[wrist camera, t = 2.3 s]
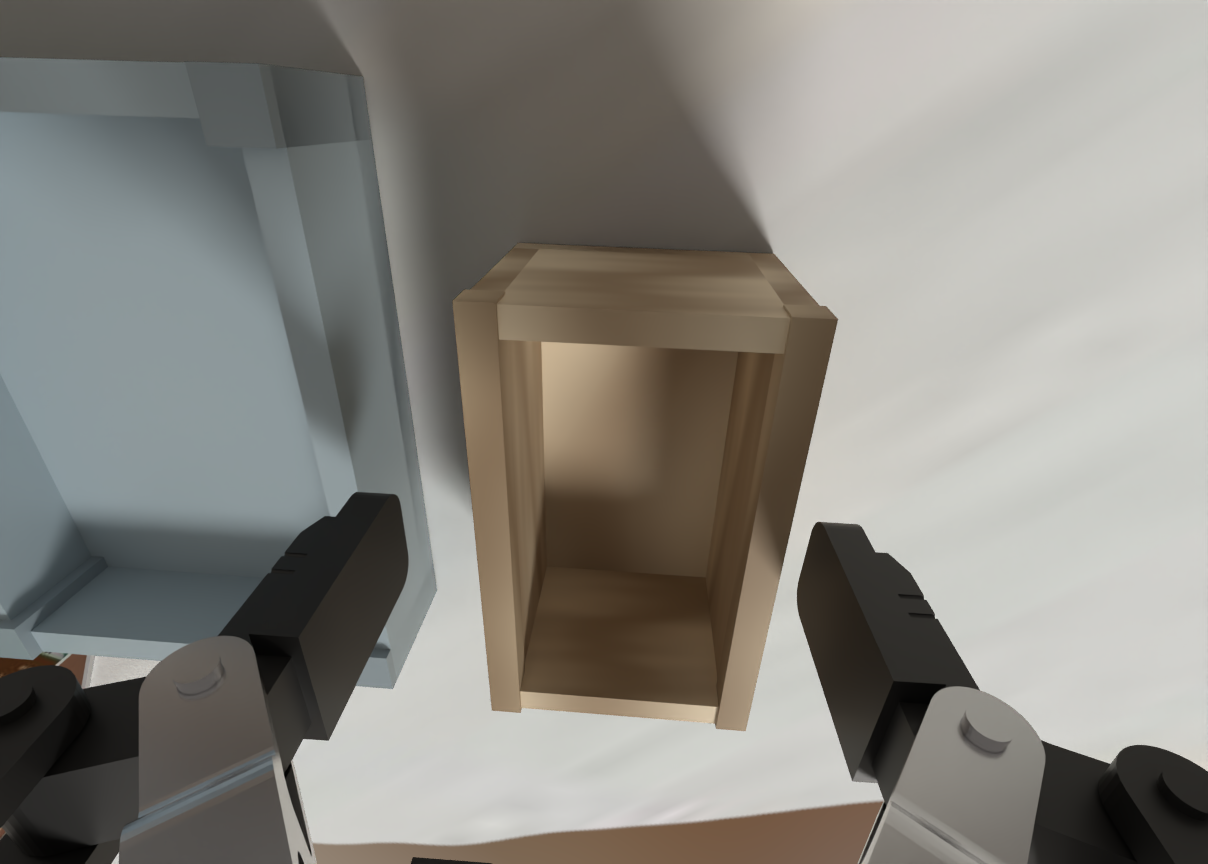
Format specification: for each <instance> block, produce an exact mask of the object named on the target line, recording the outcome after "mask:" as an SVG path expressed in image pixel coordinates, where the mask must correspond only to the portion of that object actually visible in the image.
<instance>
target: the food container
mask: <svg viewBox="0 0 1208 864" xmlns="http://www.w3.org/2000/svg"><path fill="white" fill-rule="evenodd" d="M94 658H95V656H93V655H80V654H68V653H55V652H42V653H40V654H39V655H38V656H37V657H36V658H35V659H34V660H27V659H14V658H2V657H0V678H1V677H4V676H6V675H8V674H11V673H14V672H17V671H20V670H23V669H27V668H31V667H37V666H45V665H55V666H62V667H65V668H67V669H69V670H71V671H72V672H73V674H74V675H75V676H76V678H77V680H78V682H79V683H80V685H81V687H82V689H85V688H89V686H90V680H91V675H92V669H93V664H94ZM5 834H6V832H5V831H4V829H3V828H2V827H1V828H0V840H1V839H2V838H3V836H4V835H5Z"/></svg>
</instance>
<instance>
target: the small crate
mask: <svg viewBox="0 0 1208 864" xmlns="http://www.w3.org/2000/svg"><path fill="white" fill-rule="evenodd" d="M452 303H453V314H454V324H455V334H456V345H457V355H458V365H459V376H460V386H461V396H462V406H463V417H464V427H465V437H466V448H467V458H468V468H469V479H470V489H471V499H472V509H473V520H474V530H475V540H476V551H477V561H478V571H479V582H480V592H481V602H482V612H483V623H484V633H485V643H486V654H487V664H488V674H489V685H490V695H491V705H492V710H493V711H505V712H518V713H521V708H531V709H543V710H555V711H568V712H580V713H592V714H605V715H617V716H629V717H642V718H654V719H666V720H679V721H691V722H703V723H715V725H716V729H726V730H738V731H746V727H747V722H748V718H749V713H750V709H751V704H752V700H753V695H754V691H755V686H756V682H757V678H758V673H759V669H760V664H761V660H762V655H763V651H764V646H765V642H766V637H767V633H768V629H769V624H770V620H771V615H772V611H773V606H774V602H775V597H776V593H777V588H778V584H779V580H780V575H781V571H782V566H783V562H784V557H785V553H786V548H787V544H788V539H789V535H790V531H791V526H792V522H793V517H794V513H795V508H796V504H797V499H798V495H799V490H800V486H801V482H802V477H803V473H804V468H805V464H806V459H807V455H808V450H809V446H810V441H811V437H812V433H813V428H814V424H815V419H816V415H817V410H818V406H819V401H820V397H821V392H822V388H823V383H824V379H825V375H826V370H827V366H828V361H829V357H830V352H831V348H832V343H833V339H834V334H835V330H836V326H837V321H838V319H837V318H836V317H835V316H834V314H833V313H832V312H831V311H830V310H829V309H828V308H827V307H826V306H819V305H818V303H817V302H816V301H815V300H814V299H813V298H812V297H811V295H810V294H809V293H808V292H807V291H806V290H805V289H804V287H803V286H802V285H801V284H800V283H799V282H798V281H797V279H796V278H795V277H794V276H793V275H792V274H791V273H790V271H789V270H788V269H787V268H786V267H785V266H784V265H783V263H782V262H781V261H780V260H779V259H778V258H777V257H776V255H775V254H768V253H745V252H721V251H698V250H674V249H651V248H627V247H604V246H580V245H557V244H533V243H518V244H517V245H516V246H514V247H513V248H512V249H511V250H510V251H509V252H508V253H507V254H506V255H505V256H504V257H503V258H502V259H501V260H500V261H499V262H498V263H497V264H496V265H495V266H494V267H493V268H492V269H491V270H490V271H489V272H488V273H487V274H486V275H485V276H484V277H483V278H482V279H481V280H480V281H479V282H478V283H477V284H476V285H475V286H474V287H473V288H472V289H471V290H465V289H464V290H463V291H462V292H461V293H460V294H459V295H458V296H457V297H456V298H455V299H454V300H453V301H452Z"/></svg>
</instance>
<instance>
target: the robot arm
mask: <svg viewBox="0 0 1208 864" xmlns="http://www.w3.org/2000/svg"><path fill="white" fill-rule="evenodd" d="M408 566H409V556H408V549H407V542H406V536H405V529H404V523H403V516H402V510H401V504H400V500H399V498H398V496H397V495H396V494H385V493H369V492H355V493H354V494H352V496H351V497H350V498H349V499H348V501H347V502H346V503H345V505H344V506H343V507H342V509H341V510H340V511H339V513H338V514H337V515H336V517H333V516H324V517H323V518H321V519H320V520H318V521H317V522H315V523H314V524H312V525H311V526H309V527H308V528H306V529H305V530H303V531H302V532H300V534H299V535H298V536H297V537H296V539H295V540H294V541H293V542H292V544H291V545H290V546H289V547H288V549H287V550H286V551H285V555H284V556H281V557H280V559H279V560H278V561H277V562H276V564H275V565H274V566H273V567H272V569H271V573H268V574H267V575H266V576H265V577H264V579H263V580H262V581H261V582H260V584H259V585H258V586H257V587H256V589H255V590H254V591H253V592H252V594H251V595H250V596H249V597H248V598H247V600H246V601H245V602H244V603H243V605H242V606H241V607H240V608H239V610H238V611H237V612H236V613H235V615H234V616H233V617H232V618H231V620H230V621H229V622H228V623H227V625H226V626H225V627H224V628H223V630H222V631H221V632H220V633H219V635H218V636H214V637H210V638H205V639H202V640H198V641H195V642H193V643H190V644H188V645H186V646H184V647H182V648H180V649H178V650H176V651H175V652H173V653H171V654H170V655H168V656H167V657H166V658H164V659H163V660H162V661H161V662H159V663H158V664H157V665H156V666H155V667H154V668H153V669H152V670H151V672H150V673H149V674H148V675H147V677H142V678H137V679H132V680H127V681H121V682H116V683H111V684H106V685H100V686H95V687H90V688H85V689H82V687H81V685H80V683H79V682H78V680H77V678H76V676H75V675H74V674H73V672H72V671H71V670H69V669H67V668H65V667H62V666H55V665H45V666H37V667H31V668H27V669H23V670H20V671H17V672H14V673H11V674H8V675H6V676H4V677H1V678H0V828H1V827H2V828H3V829H4V831H5V832H6V834H5V835H4V836H3V838H2V839H1V840H0V864H111V863H112V862H113V860H114V859H115V857H116V855H117V854H118V852H119V864H317V862H316V858H315V853H314V849H313V845H312V840H311V836H310V832H309V827H308V823H307V819H306V814H305V810H304V806H303V801H302V797H301V793H300V788H299V784H298V780H297V775H296V771H295V767H294V764H293V761H292V759H293V757H294V755H295V753H296V751H297V749H298V747H299V746H300V744H301V742H302V740H303V739H314V740H328V741H329V739H330V737H331V735H332V733H333V731H334V729H335V727H336V724H337V722H338V720H339V718H340V716H341V714H342V712H343V710H344V708H345V706H346V704H347V702H348V700H349V698H350V696H351V694H352V692H353V690H354V688H355V686H356V684H357V682H358V680H359V678H360V676H361V674H362V672H363V669H364V667H365V665H366V663H367V661H368V659H369V657H370V655H371V653H372V651H373V649H374V647H375V645H376V643H377V641H378V639H379V637H380V635H381V633H382V631H383V629H384V627H385V625H386V623H387V621H388V619H389V617H390V614H391V612H392V610H393V608H394V606H395V604H396V602H397V600H398V598H399V596H400V594H401V592H402V590H403V588H404V585H405V582H406V579H407V574H408ZM797 606H798V612H799V616H800V620H801V623H802V626H803V629H804V632H805V635H806V638H807V642H808V645H809V648H810V651H811V654H812V657H813V660H814V663H815V666H816V670H817V673H818V676H819V679H820V682H821V685H822V688H823V691H824V694H825V698H826V701H827V704H828V707H829V710H830V713H831V716H832V719H833V722H834V726H835V729H836V732H837V735H838V738H839V741H840V744H841V747H842V750H843V754H844V757H845V760H846V763H847V766H848V769H849V772H850V775H851V778H852V781H855V782H869V783H878V785H879V787H880V790H881V793H882V796H883V799H884V802H883V804H882V806H881V808H880V811H879V813H878V816H877V818H876V820H875V823H874V825H873V828H872V830H871V832H870V835H869V837H868V840H867V842H866V845H865V847H864V849H863V852H862V854H861V857H860V859H859V862H858V864H1208V771H1206V770H1205V769H1203V768H1202V767H1200V766H1198V765H1197V764H1195V763H1193V762H1191V761H1190V760H1188V759H1186V758H1184V757H1182V756H1180V755H1177V754H1175V753H1172V752H1170V751H1167V750H1164V749H1161V748H1157V747H1152V746H1147V745H1134V746H1129V747H1126V748H1124V749H1123V750H1122V751H1121V752H1119V754H1118V755H1117V756H1116V758H1115V759H1114V760H1113V762H1112V763H1111V764H1109V763H1106V762H1103V761H1100V760H1097V759H1094V758H1091V757H1088V756H1085V755H1082V754H1079V753H1076V752H1073V751H1070V750H1067V749H1064V748H1061V747H1058V746H1055V745H1052V744H1049V743H1047V742H1044V741H1042V740H1040V738H1039V736H1038V735H1037V733H1036V731H1035V730H1034V729H1033V727H1032V726H1031V725H1030V724H1029V723H1028V722H1027V721H1026V719H1025V718H1024V717H1023V716H1022V715H1020V714H1019V713H1018V712H1017V711H1016V710H1015V709H1013V708H1012V707H1010V706H1009V705H1008V704H1006V703H1005V702H1003V701H1001V700H1000V699H998V698H996V697H994V696H992V695H990V694H988V693H986V692H983V691H980V690H979V688H978V686H977V685H976V683H975V681H974V679H973V678H972V676H971V674H970V673H969V671H968V669H967V668H966V666H965V664H964V663H963V661H962V659H961V658H960V656H959V654H958V652H957V651H956V649H955V647H954V646H953V644H952V642H951V641H950V639H949V637H948V636H947V634H946V632H945V631H944V629H943V627H942V625H941V624H940V622H939V620H938V619H935V614H934V612H933V610H932V609H931V607H930V605H929V604H928V602H927V600H924V595H923V593H922V592H921V590H920V588H919V587H918V585H917V583H916V582H915V580H914V578H913V576H912V575H911V573H910V572H909V571H907V570H906V569H905V568H904V567H903V566H902V565H901V564H899V563H898V562H897V561H896V560H895V559H894V558H893V557H892V556H890V555H889V554H888V553H876V552H875V551H874V549H873V547H872V545H871V543H870V541H869V540H868V538H867V536H866V534H865V532H864V530H863V529H862V527H861V526H860V525H858V524H843V523H827V522H817V523H816V524H815V525H814V527H813V529H812V532H811V536H810V540H809V544H808V548H807V551H806V555H805V559H804V563H803V566H802V570H801V574H800V578H799V582H798V588H797ZM411 864H491V863H481V862H468V861H455V860H441V859H429V858H416V857H413V859H412V862H411Z"/></svg>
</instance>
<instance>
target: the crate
mask: <svg viewBox="0 0 1208 864" xmlns="http://www.w3.org/2000/svg"><path fill="white" fill-rule="evenodd" d="M355 492H369V493H385V494H396V495H397V496H398V498H399V500H400V504H401V510H402V516H403V523H404V529H405V536H406V542H407V549H408V556H409V566H408V574H407V579H406V582H405V585H404V588H403V590H402V592H401V594H400V596H399V598H398V600H397V602H396V604H395V606H394V608H393V610H392V612H391V614H390V617H389V619H388V621H387V623H386V625H385V627H384V629H383V631H382V633H381V635H380V637H379V639H378V641H377V643H376V645H375V647H374V649H373V651H372V653H371V655H370V657H369V659H368V661H367V663H366V665H365V667H364V669H363V672H362V674H361V676H360V678H359V680H358V682H357V684H356V686H363V687H375V688H388V689H393V687H394V685H395V683H396V681H397V678H398V676H399V674H400V672H401V670H402V667H403V665H404V663H405V661H406V658H407V656H408V654H409V652H410V649H411V647H412V645H413V643H414V641H415V638H416V636H417V634H418V632H419V629H420V627H421V625H422V623H423V620H424V618H425V616H426V614H427V612H428V609H429V607H430V605H431V603H432V600H433V598H434V596H435V594H436V591H437V588H436V581H435V574H434V567H433V560H432V553H431V546H430V539H429V532H428V525H427V518H426V511H425V505H424V498H423V491H422V484H421V477H420V470H419V463H418V456H417V449H416V442H415V435H414V428H413V421H412V414H411V407H410V401H409V394H408V387H407V380H406V373H405V366H404V359H403V352H402V345H401V338H400V331H399V324H398V317H397V310H396V303H395V296H394V290H393V283H392V276H391V269H390V262H389V255H388V248H387V241H386V234H385V227H384V220H383V213H382V206H381V199H380V192H379V186H378V179H377V172H376V165H375V158H374V151H373V144H372V137H371V130H370V123H369V116H368V109H367V102H366V95H365V88H364V82H363V77H362V76H354V75H346V74H338V73H330V72H322V71H314V70H306V69H298V68H290V67H282V66H275V65H267V64H259V63H224V62H189V61H184V62H152V61H117V60H82V59H46V58H11V57H0V657H2V658H14V659H27V660H34V659H35V658H36V657H37V656H38V655H39V654H40V653H42V652H55V653H68V654H80V655H93V656H105V657H118V658H131V659H143V660H156V661H162V660H163V659H164V658H166V657H167V656H168V655H170V654H171V653H173V652H175V651H176V650H178V649H180V648H182V647H184V646H186V645H188V644H190V643H193V642H195V641H198V640H202V639H205V638H210V637H214V636H218V635H219V633H220V632H221V631H222V630H223V628H224V627H225V626H226V625H227V623H228V622H229V621H230V620H231V618H232V617H233V616H234V615H235V613H236V612H237V611H238V610H239V608H240V607H241V606H242V605H243V603H244V602H245V601H246V600H247V598H248V597H249V596H250V595H251V594H252V592H253V591H254V590H255V589H256V587H257V586H258V585H259V584H260V582H261V581H262V580H263V579H264V577H265V576H266V575H267V574H268V573H271V569H272V567H273V566H274V565H275V564H276V562H277V561H278V560H279V559H280V557H281V556H284V555H285V551H286V550H287V549H288V547H289V546H290V545H291V544H292V542H293V541H294V540H295V539H296V537H297V536H298V535H299V534H300V532H302V531H303V530H305V529H306V528H308V527H309V526H311V525H312V524H314V523H315V522H317V521H318V520H320V519H321V518H323V517H324V516H333V517H336V515H337V514H338V513H339V511H340V510H341V509H342V507H343V506H344V505H345V503H346V502H347V501H348V499H349V498H350V497H351V496H352V494H354V493H355Z"/></svg>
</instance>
